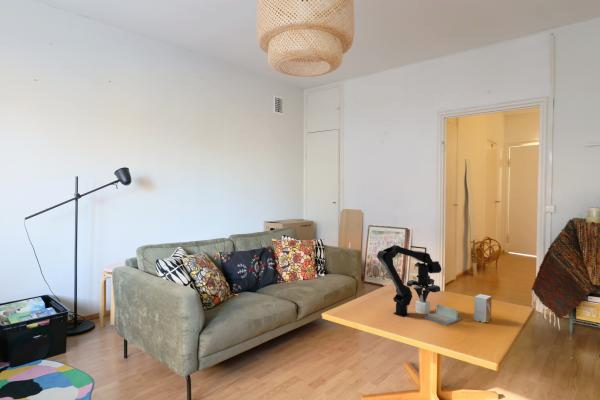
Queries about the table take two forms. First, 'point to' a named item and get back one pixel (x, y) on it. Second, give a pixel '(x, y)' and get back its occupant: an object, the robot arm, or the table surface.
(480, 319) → the small box
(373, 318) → the table surface
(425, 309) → the block with grey handle
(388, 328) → the table surface
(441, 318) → the cleat board
